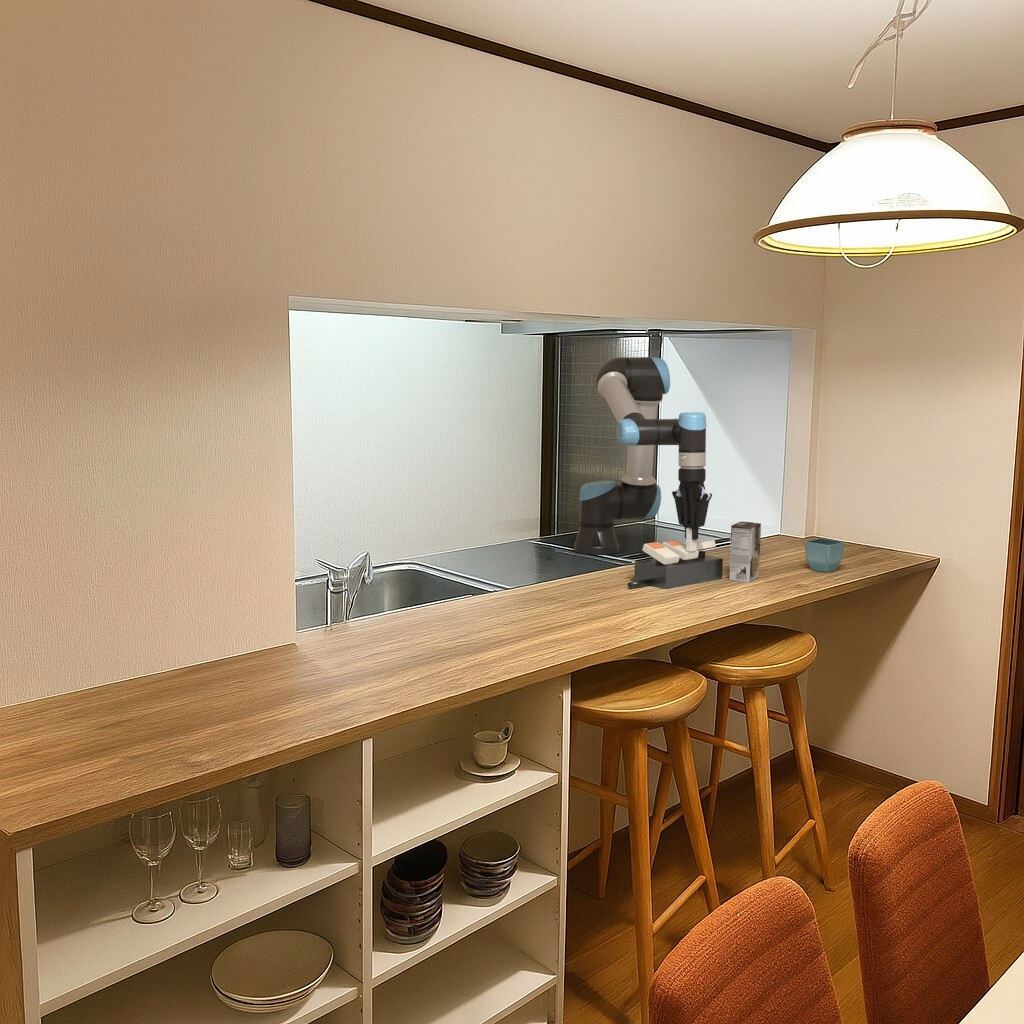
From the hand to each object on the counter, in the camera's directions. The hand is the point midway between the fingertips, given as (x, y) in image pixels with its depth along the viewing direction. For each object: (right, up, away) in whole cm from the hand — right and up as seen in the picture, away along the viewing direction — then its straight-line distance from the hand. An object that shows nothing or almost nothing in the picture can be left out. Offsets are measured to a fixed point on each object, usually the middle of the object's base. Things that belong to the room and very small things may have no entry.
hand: (691, 550), depth 276 cm
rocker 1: (-9, -1, -1) cm, 9 cm away
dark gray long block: (-6, -9, +2) cm, 11 cm away
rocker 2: (-3, -1, +4) cm, 5 cm away
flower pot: (+44, -7, +20) cm, 49 cm away
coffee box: (+17, -9, +8) cm, 20 cm away
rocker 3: (+4, 0, +9) cm, 9 cm away
